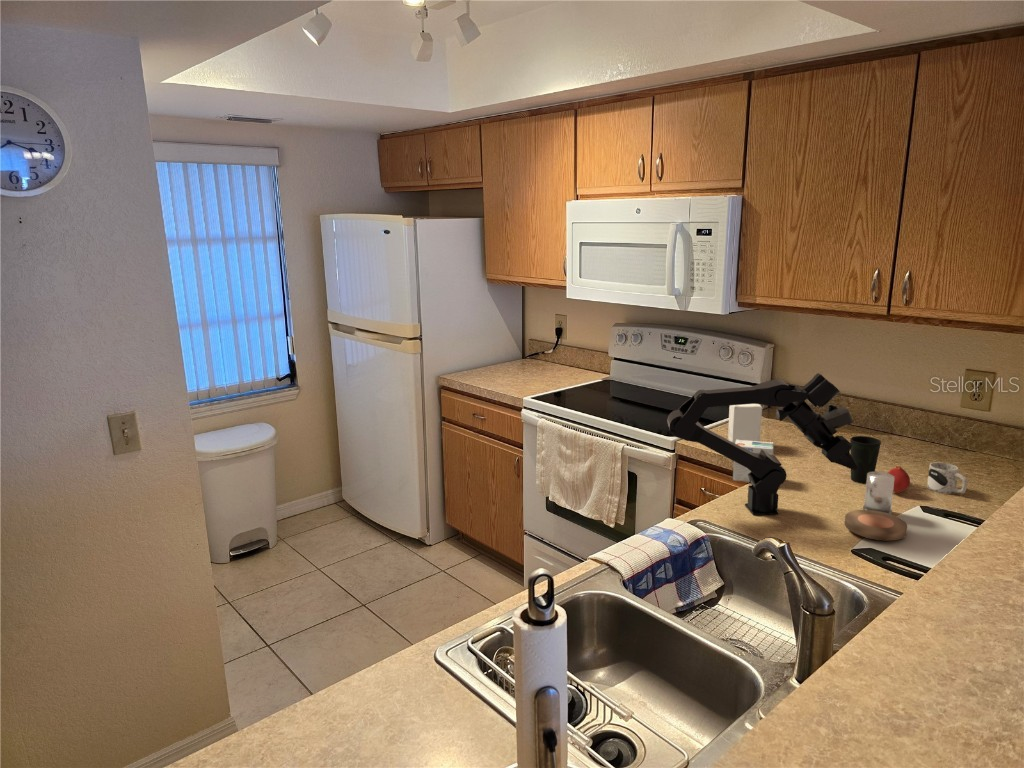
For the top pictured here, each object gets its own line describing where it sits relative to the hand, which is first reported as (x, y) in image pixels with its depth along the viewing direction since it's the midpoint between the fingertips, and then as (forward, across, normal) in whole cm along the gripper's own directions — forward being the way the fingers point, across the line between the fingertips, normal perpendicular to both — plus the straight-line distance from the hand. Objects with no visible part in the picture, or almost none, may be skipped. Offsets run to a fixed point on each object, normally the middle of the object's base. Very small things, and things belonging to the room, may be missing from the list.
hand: (849, 462), depth 167 cm
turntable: (+11, -11, +7) cm, 18 cm away
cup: (+18, +23, +1) cm, 29 cm away
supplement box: (0, +52, +19) cm, 56 cm away
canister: (+15, 0, +4) cm, 16 cm away
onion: (+22, +14, -3) cm, 26 cm away
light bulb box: (-3, +23, +22) cm, 32 cm away
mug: (+32, +16, -13) cm, 38 cm away
